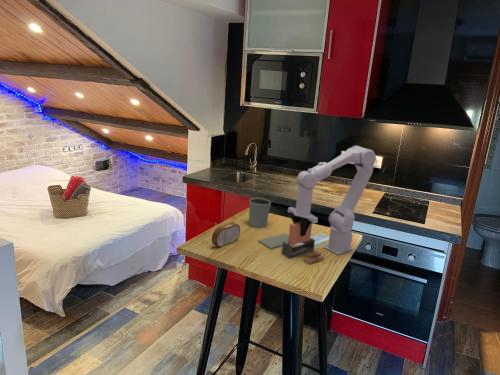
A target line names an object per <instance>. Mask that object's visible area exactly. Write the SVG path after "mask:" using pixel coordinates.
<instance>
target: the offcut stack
mask: <svg viewBox="0 0 500 375" xmlns="http://www.w3.org/2000/svg"><path fill="white" fill-rule="evenodd" d="M324 258H325V255H324V254H322V252H320V251H318V250H314V251H313V252H309V253H306V254H305V258H304V259H303V262H304V263H305V264H307V265H309V266H311V265H314V264H315V263H316V264H317V263H320V262H323V261H324V260H325V259H324Z"/></svg>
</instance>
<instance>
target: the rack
mask: <svg viewBox="0 0 500 375" xmlns="http://www.w3.org/2000/svg"><path fill="white" fill-rule="evenodd" d="M315 242H316V240H315V238H312V237H310V240H309V241H306V242H304V243H303V244H300V245H296V246H294V245H291V244H287V243H286V242H283V246H281V247H282V248H281V254H282V255H283V256H285V257H286V258H288V259H292V258H296V257H300V256H302V255H306V253H310V252H313V251H315V250H314V249H315ZM298 250H299V251H298Z"/></svg>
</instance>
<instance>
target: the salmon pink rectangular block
mask: <svg viewBox="0 0 500 375" xmlns="http://www.w3.org/2000/svg"><path fill="white" fill-rule="evenodd" d="M312 226H313V223H311V224H310V226H309V228H308V230H307V232H306V235H305V236H301V235H300V231H301V225H300V222H297V223H293V222H292V223H290V224H289V230H288V235H289V239H288V243H289V245H291V246H294V245H298V244H301V243H305V242H306V241H309V240H310V238H311V236H312V228H313V227H312Z"/></svg>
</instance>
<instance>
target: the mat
mask: <svg viewBox="0 0 500 375" xmlns="http://www.w3.org/2000/svg"><path fill="white" fill-rule="evenodd" d="M288 239H289V234H287V233H282V234H279V235H274V236H270V237H267V238H262V239H258V240H257V243H259V244H261V245H263V246H264V247H266V248H268V249H269V250H273V249H276V248H280V247H282V246H283V242H286V243H287V244H289V243H288ZM289 245H290V244H289Z"/></svg>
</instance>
